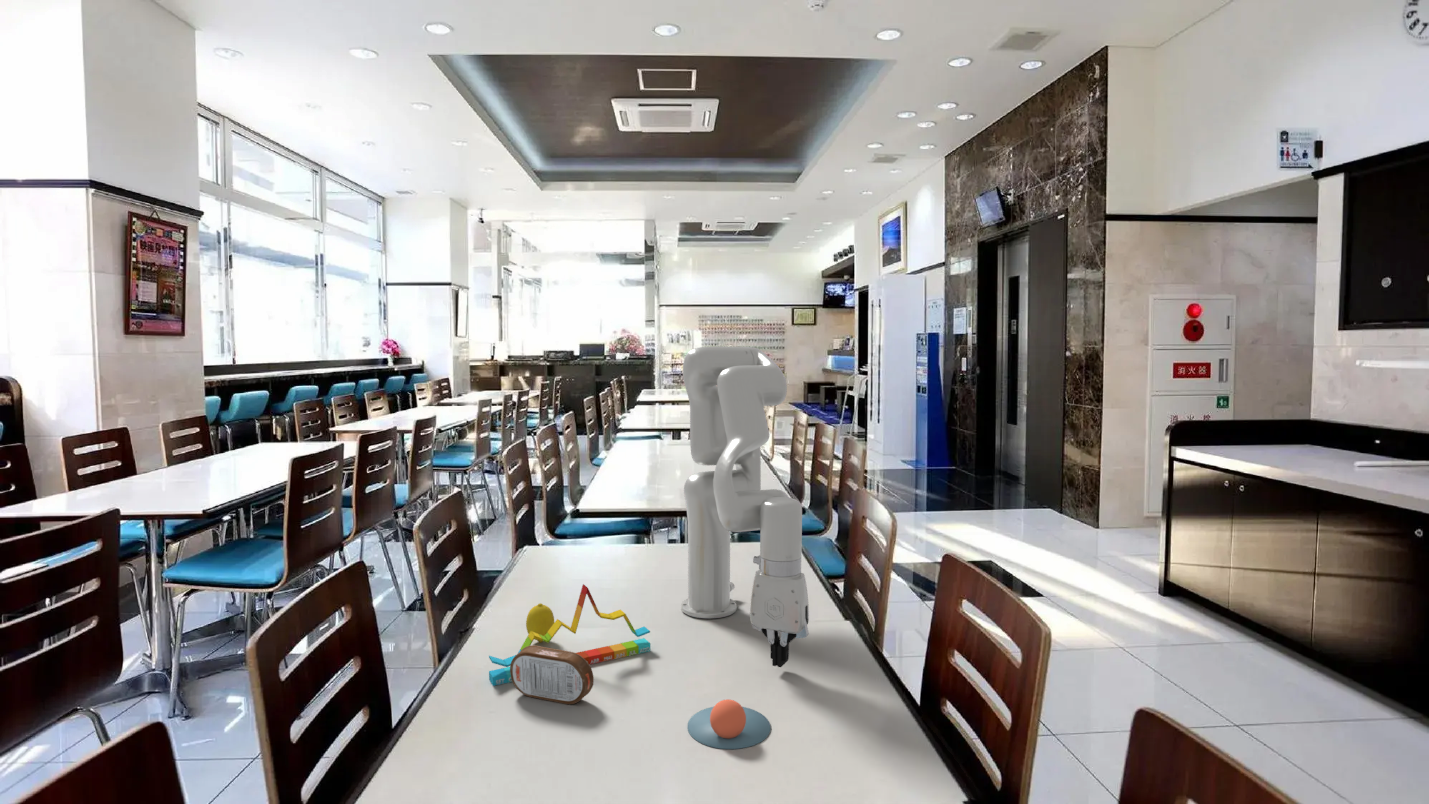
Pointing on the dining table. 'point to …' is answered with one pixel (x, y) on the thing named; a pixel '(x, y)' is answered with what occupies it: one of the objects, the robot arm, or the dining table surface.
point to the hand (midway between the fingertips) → (779, 663)
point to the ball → (728, 719)
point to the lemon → (539, 620)
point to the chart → (590, 655)
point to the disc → (751, 735)
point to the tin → (551, 674)
